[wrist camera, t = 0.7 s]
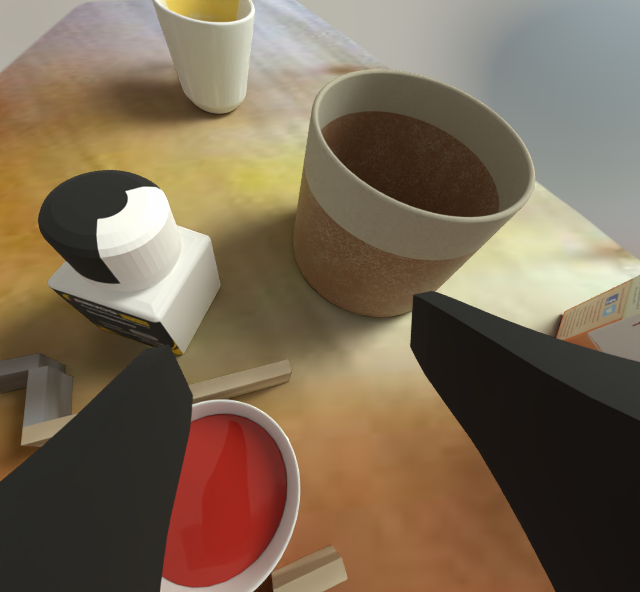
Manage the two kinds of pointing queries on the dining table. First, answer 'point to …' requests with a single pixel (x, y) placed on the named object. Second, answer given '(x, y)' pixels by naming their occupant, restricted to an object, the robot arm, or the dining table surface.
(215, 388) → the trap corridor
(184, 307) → the medicine bottle
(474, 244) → the planter
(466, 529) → the dining table surface
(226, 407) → the candle
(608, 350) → the cracker box
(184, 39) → the mug
